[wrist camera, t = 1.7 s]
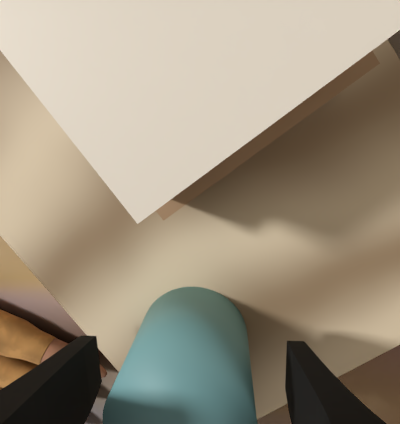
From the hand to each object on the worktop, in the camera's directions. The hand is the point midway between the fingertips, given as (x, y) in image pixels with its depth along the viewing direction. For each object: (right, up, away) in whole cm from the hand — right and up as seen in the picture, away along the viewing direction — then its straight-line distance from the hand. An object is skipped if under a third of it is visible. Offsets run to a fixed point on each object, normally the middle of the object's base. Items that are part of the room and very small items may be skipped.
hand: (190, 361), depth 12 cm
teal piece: (0, 0, +2) cm, 2 cm away
